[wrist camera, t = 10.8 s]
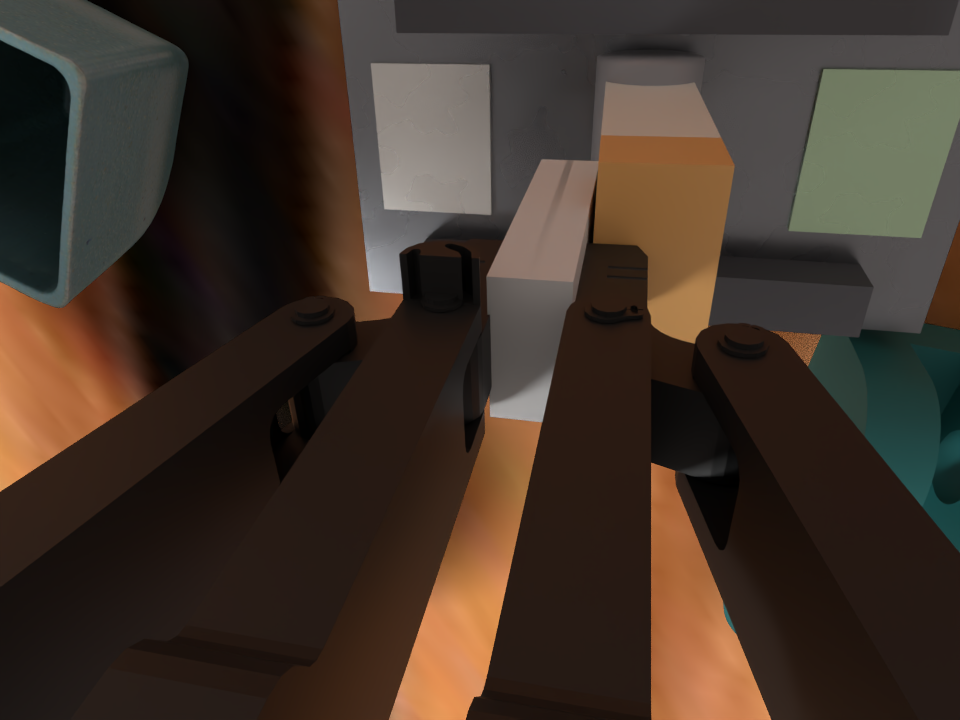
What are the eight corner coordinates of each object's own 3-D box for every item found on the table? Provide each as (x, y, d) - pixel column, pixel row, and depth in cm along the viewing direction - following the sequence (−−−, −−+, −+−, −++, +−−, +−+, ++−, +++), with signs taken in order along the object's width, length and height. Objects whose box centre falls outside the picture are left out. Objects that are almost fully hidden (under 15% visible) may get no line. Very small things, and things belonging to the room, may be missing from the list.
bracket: (833, 303, 28) (887, 420, 21) (1015, 338, 27) (1130, 470, 20) (704, 601, 37) (714, 744, 31) (835, 633, 37) (874, 787, 30)
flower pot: (22, 135, 31) (-177, 200, 24) (30, -80, 26) (-217, -82, 19) (203, 224, 32) (63, 315, 24) (244, 28, 27) (84, 67, 19)
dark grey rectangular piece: (429, 281, 27) (416, 302, 26) (409, -39, 22) (391, -36, 20) (846, 312, 25) (858, 337, 23) (946, -47, 19) (972, -45, 17)
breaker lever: (586, 235, 25) (568, 407, 16) (598, 49, 22) (583, 134, 13) (675, 239, 24) (706, 418, 15) (700, 49, 21) (757, 137, 12)
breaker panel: (393, 261, 31) (368, 293, 28) (364, -61, 24) (328, -60, 22) (895, 295, 27) (922, 336, 24) (1012, -75, 21) (1066, -76, 18)
